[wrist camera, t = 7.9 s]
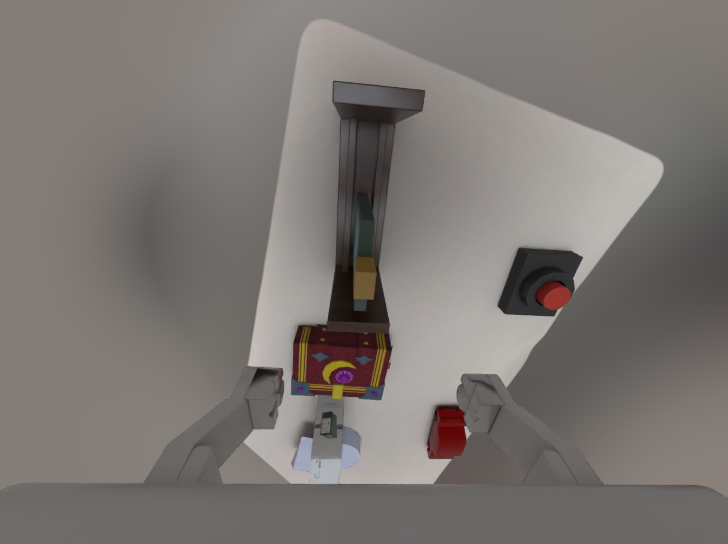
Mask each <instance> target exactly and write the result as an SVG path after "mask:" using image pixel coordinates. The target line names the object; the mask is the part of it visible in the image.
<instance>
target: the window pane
mask: <svg viewBox="0 0 728 544" xmlns="http://www.w3.org/2000/svg"><path fill="white" fill-rule="evenodd" d="M374 227H375V219H374V215H373V212H372V208H371V204H370V201H369V197H368V194H367V193H358V199H357V211H356V226H355V241H354V258H353V298H354V311H366V307H367V299H370V300H373V299H374V292H375V283H376V274H377V273H376V267H375V261H374V258H373V257H372V247H373V237H374Z"/></svg>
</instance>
